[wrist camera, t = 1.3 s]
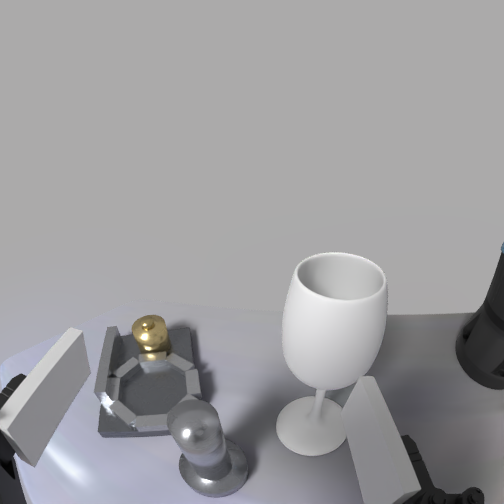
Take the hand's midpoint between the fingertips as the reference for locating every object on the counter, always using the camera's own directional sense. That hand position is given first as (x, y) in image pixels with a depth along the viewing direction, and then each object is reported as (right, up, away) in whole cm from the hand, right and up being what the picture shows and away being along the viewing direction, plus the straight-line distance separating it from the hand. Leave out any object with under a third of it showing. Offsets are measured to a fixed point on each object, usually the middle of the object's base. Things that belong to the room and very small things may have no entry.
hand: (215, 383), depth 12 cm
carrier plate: (-12, -12, +23) cm, 29 cm away
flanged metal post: (-2, -17, +12) cm, 21 cm away
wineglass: (+9, -14, +17) cm, 24 cm away
